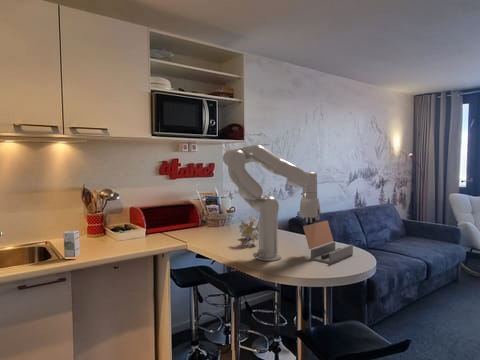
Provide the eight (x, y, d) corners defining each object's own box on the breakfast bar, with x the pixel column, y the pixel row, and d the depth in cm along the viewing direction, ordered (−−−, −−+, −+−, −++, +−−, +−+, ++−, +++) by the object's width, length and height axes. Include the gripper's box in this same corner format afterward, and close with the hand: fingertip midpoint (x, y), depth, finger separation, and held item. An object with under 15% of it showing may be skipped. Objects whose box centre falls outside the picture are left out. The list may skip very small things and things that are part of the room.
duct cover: (304, 225, 168) (302, 226, 168) (310, 248, 166) (309, 249, 166) (327, 220, 183) (326, 220, 184) (333, 241, 181) (332, 241, 182)
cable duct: (330, 264, 158) (330, 253, 158) (310, 259, 166) (310, 249, 166) (352, 254, 174) (352, 244, 174) (333, 250, 182) (333, 241, 181)
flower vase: (243, 248, 216) (242, 248, 192) (237, 220, 220) (236, 216, 196) (263, 244, 217) (265, 243, 192) (256, 216, 221) (258, 212, 196)
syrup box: (80, 256, 180) (79, 229, 179) (75, 259, 174) (74, 232, 173) (69, 256, 180) (68, 230, 179) (64, 260, 174) (62, 232, 173)
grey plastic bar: (324, 259, 163) (324, 255, 163) (321, 258, 164) (321, 254, 164) (342, 251, 176) (342, 248, 176) (339, 251, 177) (339, 247, 177)
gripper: (294, 195, 180) (294, 229, 181) (318, 196, 170) (319, 232, 171) (302, 194, 186) (302, 227, 186) (326, 195, 175) (326, 230, 176)
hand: (310, 229), depth 179 cm, fingers closed
